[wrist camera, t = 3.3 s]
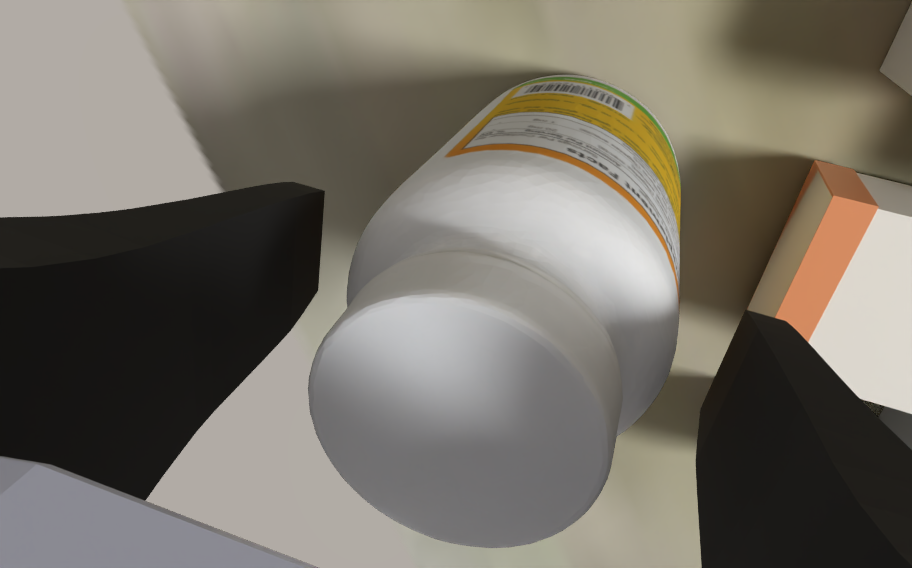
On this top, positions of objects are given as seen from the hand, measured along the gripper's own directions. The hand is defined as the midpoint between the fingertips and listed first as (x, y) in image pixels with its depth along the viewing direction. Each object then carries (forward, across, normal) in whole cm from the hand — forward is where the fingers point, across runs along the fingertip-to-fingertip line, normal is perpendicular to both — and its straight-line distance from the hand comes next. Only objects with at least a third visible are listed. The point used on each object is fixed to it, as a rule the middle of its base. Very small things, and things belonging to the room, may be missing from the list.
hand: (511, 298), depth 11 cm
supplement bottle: (+6, 0, 0) cm, 6 cm away
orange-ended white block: (+6, -8, 0) cm, 10 cm away
